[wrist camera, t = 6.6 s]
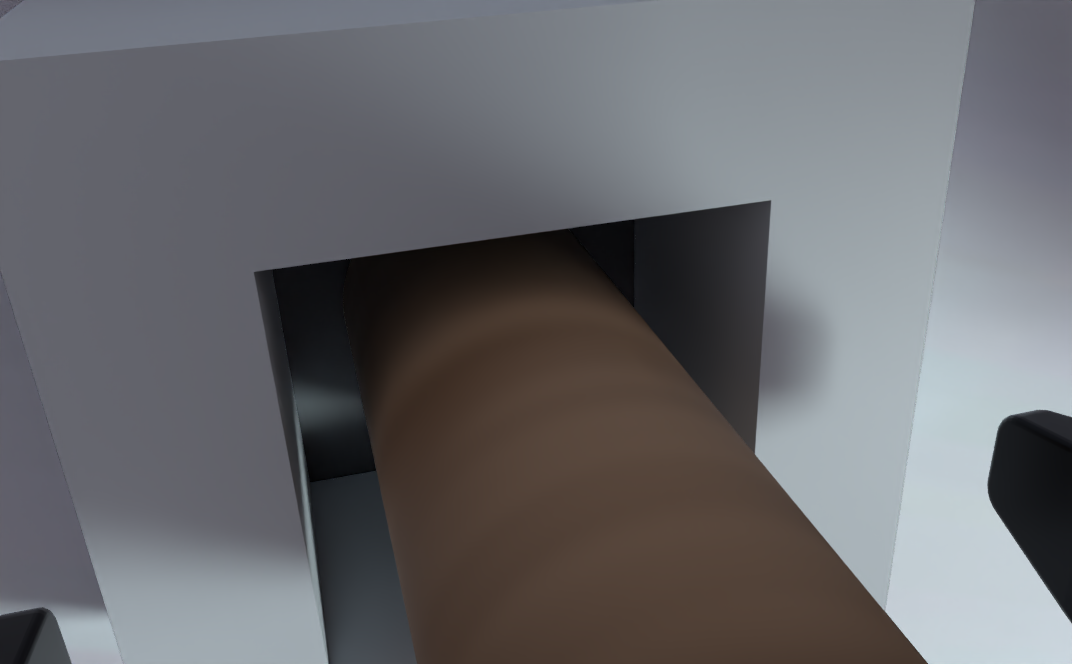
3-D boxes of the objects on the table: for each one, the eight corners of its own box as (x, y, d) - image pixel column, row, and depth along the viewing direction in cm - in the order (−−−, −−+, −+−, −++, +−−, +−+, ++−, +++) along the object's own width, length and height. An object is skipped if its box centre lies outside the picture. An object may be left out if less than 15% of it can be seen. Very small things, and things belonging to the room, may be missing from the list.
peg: (585, 382, 15) (950, 964, 7) (360, 421, 14) (496, 1113, 7) (579, 164, 14) (1036, 609, 6) (326, 196, 13) (453, 752, 5)
